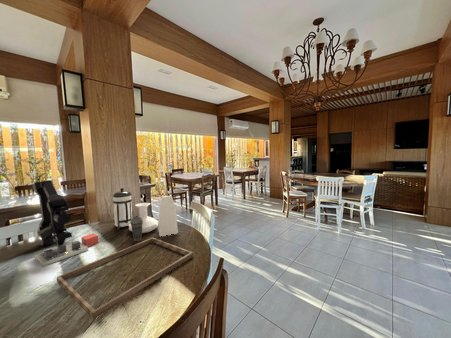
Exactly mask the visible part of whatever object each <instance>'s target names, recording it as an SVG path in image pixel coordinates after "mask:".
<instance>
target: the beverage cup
mask: <svg viewBox="0 0 451 338" xmlns="http://www.w3.org/2000/svg"><path fill="white" fill-rule="evenodd" d="M133 211H134V217H133V216H132V220H131V226H132V231H131V232H132V238H133V239H132V240H133V241H134V242H139V241H141V240H142V235H143V233H142V223H143V221H142V218H141V217H140V216H139V215H136V214H137V213H136V209H134V210H133Z"/></svg>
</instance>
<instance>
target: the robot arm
mask: <svg viewBox="0 0 451 338" xmlns="http://www.w3.org/2000/svg"><path fill="white" fill-rule="evenodd" d="M32 189H33V190H34V193H35V194H36V195H37V196H38V198H39V206H40V207H39V208H40V214H41V221H40V222H39V224H38V228H37V231H36V232H37V236H38V237H39V238H41V243H40V244H39V245H40V246H42V247H47V246H50V245H54V244H57V246H58V245H62V244H65V241H66V239H70V238H72V237H73V236H72V232H71V231H68V230H67V229H68V228H66V224H68V223H69V222H70V221H71V219H72V217H71V216H72V215H71V214H70V213H67V211H69V209H70V206H69V203H68V202H67V200H66V199H65V198H64V196H63V195H61V194H59V193H58V191H57V189H56V188H55V186H54V182H53V180H50V179H48V180H41V181H40V180H39V181H35V182H34V183H33V184H32Z"/></svg>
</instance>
